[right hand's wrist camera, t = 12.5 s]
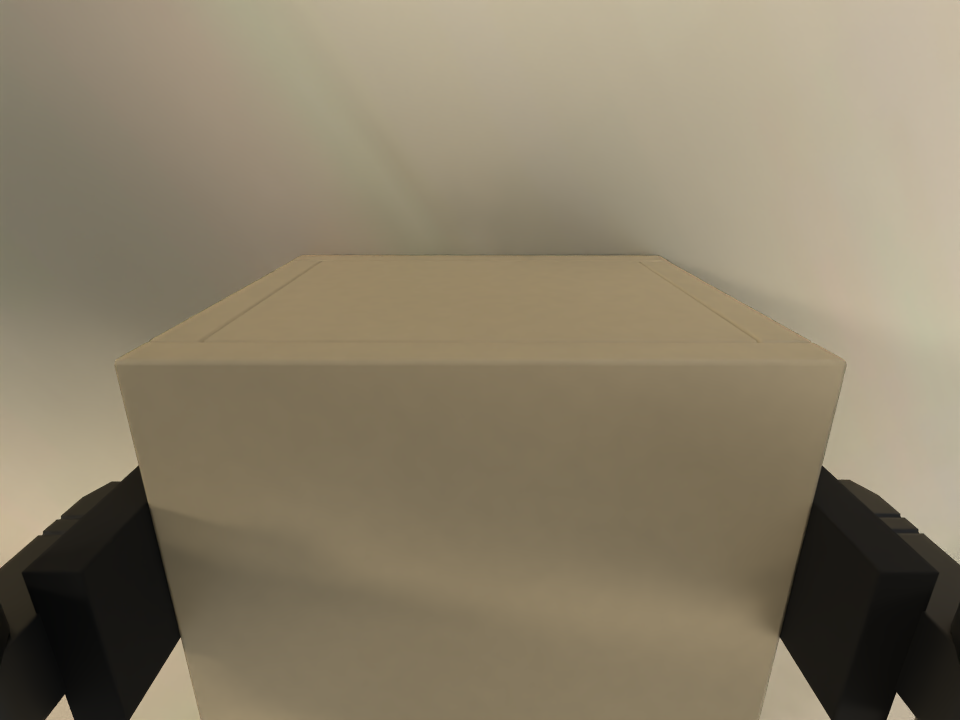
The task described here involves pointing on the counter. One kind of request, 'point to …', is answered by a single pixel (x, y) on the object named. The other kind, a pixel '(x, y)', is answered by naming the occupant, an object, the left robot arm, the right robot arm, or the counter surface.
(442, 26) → the counter surface
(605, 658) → the cabinet
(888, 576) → the right robot arm
